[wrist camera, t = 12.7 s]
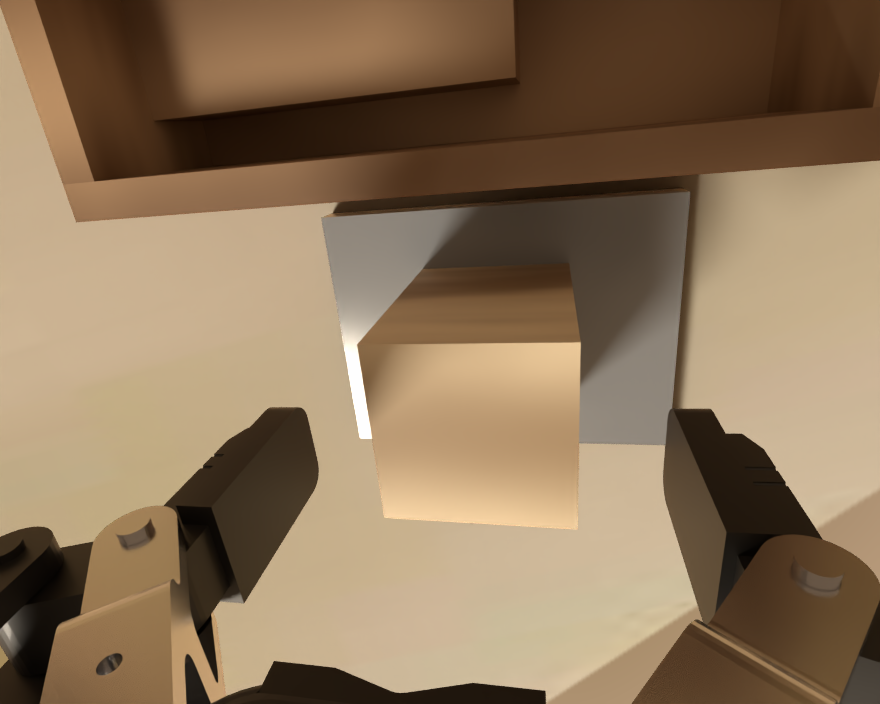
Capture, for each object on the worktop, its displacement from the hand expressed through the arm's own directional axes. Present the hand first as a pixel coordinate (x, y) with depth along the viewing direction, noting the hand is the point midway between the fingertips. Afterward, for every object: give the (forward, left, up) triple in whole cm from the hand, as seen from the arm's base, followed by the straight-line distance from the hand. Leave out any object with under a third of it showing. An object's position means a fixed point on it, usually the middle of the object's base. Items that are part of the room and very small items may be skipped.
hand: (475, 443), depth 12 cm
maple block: (0, 0, -8) cm, 8 cm away
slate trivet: (0, 0, -9) cm, 9 cm away
